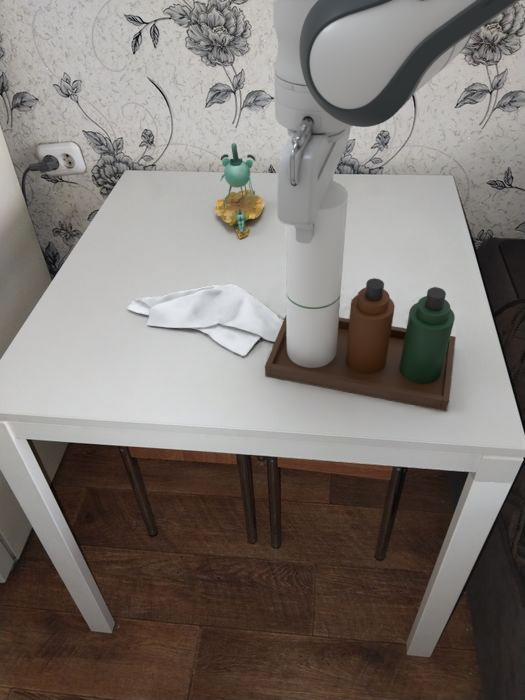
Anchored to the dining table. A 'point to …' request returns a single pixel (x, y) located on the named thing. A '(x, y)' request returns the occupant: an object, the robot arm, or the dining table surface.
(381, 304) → the brown bottle
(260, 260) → the dining table surface
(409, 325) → the green bottle
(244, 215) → the frog figurine
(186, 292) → the cloth
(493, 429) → the dining table surface
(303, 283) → the cylindrical container
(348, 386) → the tray
